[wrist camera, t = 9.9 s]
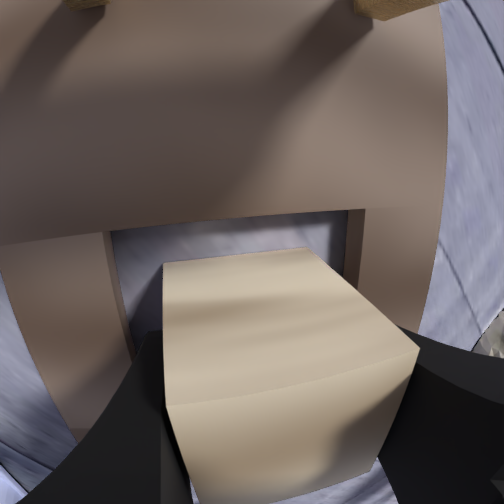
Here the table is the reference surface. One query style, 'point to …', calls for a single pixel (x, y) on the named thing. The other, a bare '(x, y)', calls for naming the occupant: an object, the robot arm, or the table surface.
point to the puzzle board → (206, 153)
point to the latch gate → (365, 3)
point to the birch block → (276, 375)
